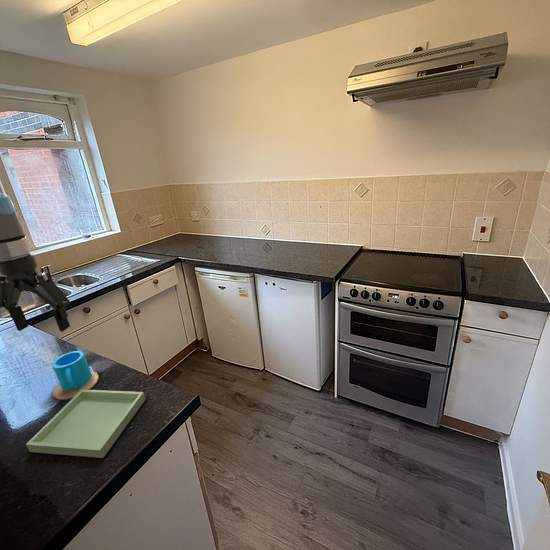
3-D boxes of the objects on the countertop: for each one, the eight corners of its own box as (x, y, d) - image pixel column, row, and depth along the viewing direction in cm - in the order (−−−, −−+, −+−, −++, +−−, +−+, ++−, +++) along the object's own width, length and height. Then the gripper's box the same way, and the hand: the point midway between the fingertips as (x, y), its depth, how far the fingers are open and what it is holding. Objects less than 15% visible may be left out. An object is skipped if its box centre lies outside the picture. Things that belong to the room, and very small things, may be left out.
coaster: (43, 399, 87) (42, 398, 87) (74, 371, 98) (74, 370, 98) (79, 400, 85) (78, 399, 85) (107, 372, 96) (106, 371, 96)
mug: (63, 378, 94) (54, 357, 91) (92, 368, 98) (84, 347, 95) (58, 402, 84) (47, 379, 81) (91, 390, 88) (81, 367, 85)
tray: (29, 452, 70) (25, 444, 69) (84, 396, 86) (81, 389, 85) (103, 458, 67) (99, 450, 66) (146, 398, 83) (143, 391, 82)
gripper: (68, 250, 77) (93, 322, 85) (-12, 253, 81) (19, 321, 89) (43, 260, 70) (72, 336, 78) (-43, 262, 74) (-7, 335, 82)
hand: (44, 328), depth 84 cm, fingers open, 13 cm apart
